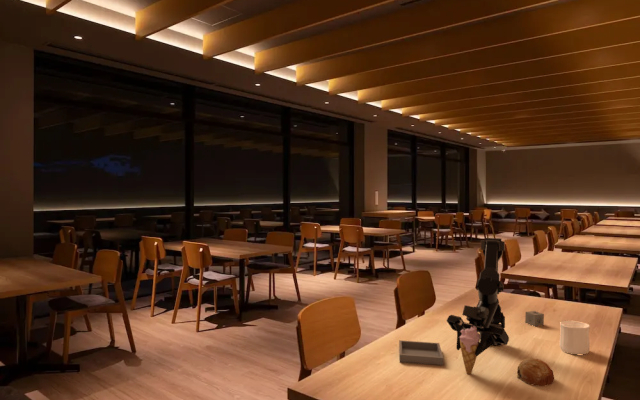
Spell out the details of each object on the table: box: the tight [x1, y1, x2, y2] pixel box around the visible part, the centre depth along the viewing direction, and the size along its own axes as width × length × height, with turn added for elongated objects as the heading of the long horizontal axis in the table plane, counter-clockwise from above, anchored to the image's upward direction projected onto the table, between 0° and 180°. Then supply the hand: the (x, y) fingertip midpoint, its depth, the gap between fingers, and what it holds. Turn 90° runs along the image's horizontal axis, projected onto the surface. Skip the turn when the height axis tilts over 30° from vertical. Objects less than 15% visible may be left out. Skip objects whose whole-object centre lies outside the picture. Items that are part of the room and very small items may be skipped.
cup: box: [559, 319, 591, 355], centre depth 154 cm, size 10×10×10 cm
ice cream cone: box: [460, 326, 481, 375], centre depth 134 cm, size 7×6×15 cm
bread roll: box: [516, 357, 555, 387], centre depth 131 cm, size 10×10×8 cm
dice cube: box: [524, 310, 545, 327], centre depth 185 cm, size 5×5×5 cm
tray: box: [398, 340, 444, 367], centre depth 148 cm, size 14×14×2 cm
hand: (466, 352), depth 133 cm, fingers closed on ice cream cone, 6 cm apart
